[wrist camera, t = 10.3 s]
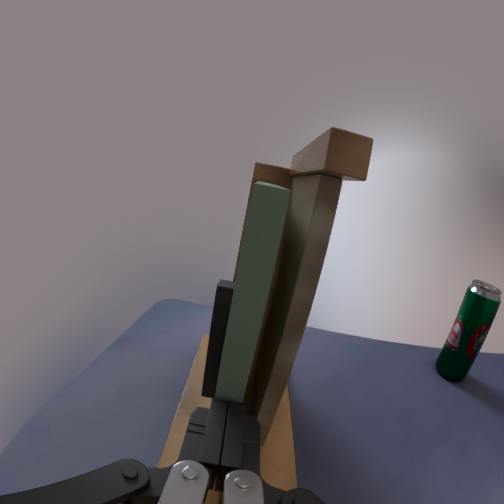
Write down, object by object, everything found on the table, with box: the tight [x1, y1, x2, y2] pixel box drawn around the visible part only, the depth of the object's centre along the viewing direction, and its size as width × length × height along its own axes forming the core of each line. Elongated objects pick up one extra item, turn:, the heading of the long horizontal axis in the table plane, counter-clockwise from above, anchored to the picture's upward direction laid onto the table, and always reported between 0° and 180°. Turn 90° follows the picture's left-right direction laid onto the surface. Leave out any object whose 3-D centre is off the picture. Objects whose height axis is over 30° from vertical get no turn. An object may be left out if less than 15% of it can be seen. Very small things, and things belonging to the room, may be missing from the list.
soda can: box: [436, 280, 501, 381], centre depth 26 cm, size 5×5×12 cm
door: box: [201, 181, 291, 415], centre depth 16 cm, size 2×11×15 cm, turn 178°
